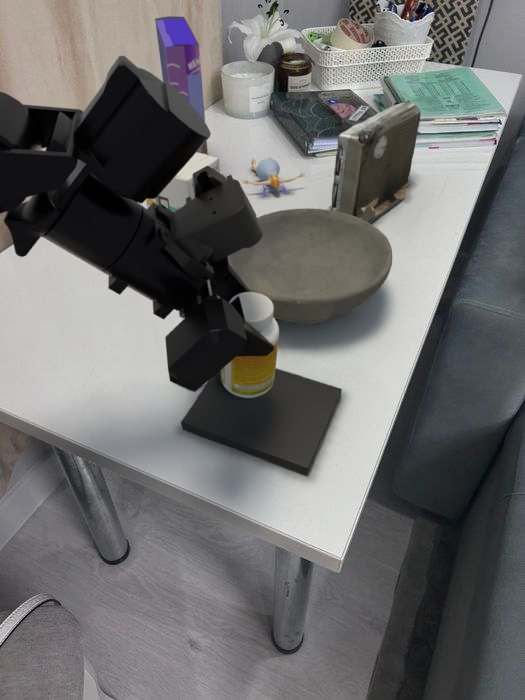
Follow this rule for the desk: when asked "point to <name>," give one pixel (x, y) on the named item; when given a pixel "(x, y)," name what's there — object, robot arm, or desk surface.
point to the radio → (375, 162)
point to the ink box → (184, 182)
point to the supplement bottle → (254, 371)
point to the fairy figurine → (269, 175)
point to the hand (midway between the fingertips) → (264, 330)
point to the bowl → (314, 263)
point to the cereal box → (181, 62)
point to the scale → (267, 419)
